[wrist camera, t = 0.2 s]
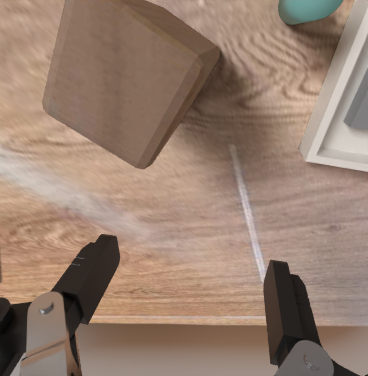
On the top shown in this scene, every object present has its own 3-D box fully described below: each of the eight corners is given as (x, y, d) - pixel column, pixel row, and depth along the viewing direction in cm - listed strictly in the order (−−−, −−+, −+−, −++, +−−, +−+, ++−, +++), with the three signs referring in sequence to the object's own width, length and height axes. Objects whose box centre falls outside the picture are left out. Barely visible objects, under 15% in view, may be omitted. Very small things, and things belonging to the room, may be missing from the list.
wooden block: (224, 50, 32) (209, 65, 16) (185, 114, 38) (143, 177, 21) (158, 3, 31) (64, -36, 14) (128, 76, 36) (33, 111, 20)
